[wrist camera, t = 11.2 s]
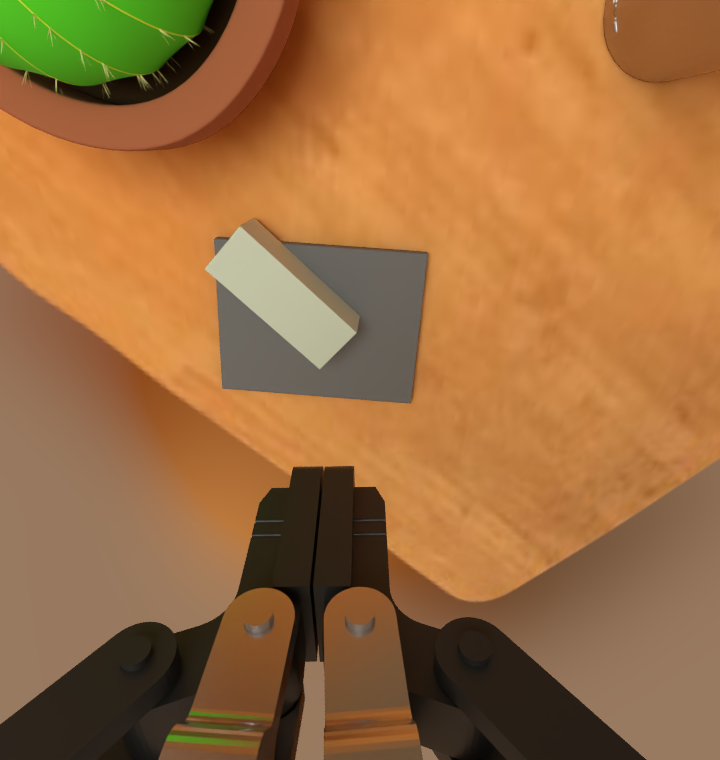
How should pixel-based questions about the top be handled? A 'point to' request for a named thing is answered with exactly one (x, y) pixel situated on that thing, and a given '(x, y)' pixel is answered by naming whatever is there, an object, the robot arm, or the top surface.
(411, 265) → the rubber mat
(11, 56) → the potted cactus
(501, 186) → the top surface
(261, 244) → the sage block
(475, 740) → the robot arm
